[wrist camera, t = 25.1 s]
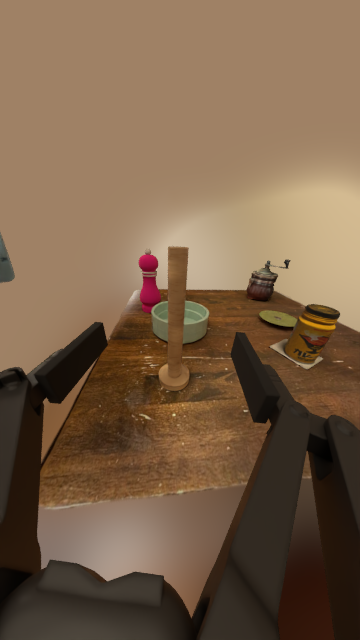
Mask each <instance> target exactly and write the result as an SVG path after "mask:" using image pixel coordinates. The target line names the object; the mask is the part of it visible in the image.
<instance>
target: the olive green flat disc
mask: <svg viewBox="0 0 360 640" xmlns="http://www.w3.org/2000/svg"><path fill="white" fill-rule="evenodd" d="M259 315H260V317H261V318H263V319H264V320H266V321H268V322H271V323H273V324H276V325H280V326H287V327H294V326H295V324H296V322H297V319H296V318H294V317H292V316H290V315H287V314H285V313H281V312H277V311H262V312H260V314H259Z"/></svg>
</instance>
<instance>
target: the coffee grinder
mask: <svg viewBox="0 0 360 640" xmlns="http://www.w3.org/2000/svg"><path fill="white" fill-rule="evenodd" d="M289 262H290V260H285V262H284V263H285V264H286V267H280V268H288V265H289ZM270 266H272V265H270V261H267V264H265V268H262V269H260V270H258V271H253V273H252V277H251V278H250V279H249V285H248V288H247V293H248V297H247V298H250V299H256V300H258V301H260V300H262V301H264V300H265V301H267V300H268V299H269V298H270V296H271V295H272V293H273V290H274V288H273V286H274V284H273V283H274V282H275V281H276V279H277V277H278V275H277V274H275V273H272V272H271V271H270V269H269V267H270ZM274 267H278V266H274Z"/></svg>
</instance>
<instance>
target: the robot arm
mask: <svg viewBox="0 0 360 640" xmlns="http://www.w3.org/2000/svg"><path fill="white" fill-rule="evenodd" d="M14 277H15V275H14V271H13V268H12V264H11V261H10V258H9V255H8V252H7V250H6V247H5V244H4V242H3V239H2V236H1V233H0V283H1V282H9V281H12V280H13V279H14ZM107 345H108V344H107V339H106V335H105V331H104V326H103V323H101V322H95V323H94V324H92V325H91V326H90V327H89V328H88V329H87V330H85V331H84V332H83V333H82V334H81V335H79V336H78V337H77V338H76V339H75V340H73V341H72V342H71V343H70V344H69V345H67V346H66V347H65V348H64V349H60V350H58V351H56V352H54V353H53V354H52V355H51V356H49V358H47V359H46V360H44V362H42V363H41V364H40V365H38V366H37V367H36V368H35V369H34V370H32V371H31V372H30V373H29V374H28V375H25V373H24V371H23V370H22V368H20V367H14V368H9V369H7V370H4V371H2V372H0V640H279V639H280V637H279V629H278V609H279V603H280V597H281V592H282V586H283V580H284V575H285V569H286V563H287V558H288V552H289V546H290V541H291V535H292V529H293V524H294V518H295V512H296V507H297V501H298V495H299V489H300V484H301V478H302V473H303V467H304V461H305V456H306V451H308V454H309V461H310V468H311V475H312V482H313V489H314V496H315V503H316V510H317V517H318V524H319V531H320V538H321V545H322V552H323V559H324V566H325V573H326V580H327V588H328V595H329V602H330V609H331V616H332V622H333V629H334V637H335V640H360V431H359V430H358V429H357V428H356V427H355V426H354V425H353V424H352V423H351V422H349V421H348V420H346V419H344V418H342V417H340V416H337V415H331V416H330V417H328V419H325V418H322V417H320V416H317V415H314V414H312V413H310V412H309V411H308V410H307V409H306V408H305V407H304V406H303V405H302V404H300V403H298V402H296V401H295V400H294V399H293V397H292V396H291V394H290V393H289V391H288V390H287V388H286V386H285V385H284V383H283V382H282V380H281V379H280V377H279V376H278V374H277V372H276V371H275V370H274V369H273V368H272V367H271V366H270V365H264V364H262V363H261V361H260V359H259V357H258V356H257V354H256V352H255V350H254V349H253V347H252V345H251V343H250V342H249V340H248V338H247V336H246V335H245V333H241V332H236V335H235V339H234V343H233V347H232V351H231V357H232V360H233V363H234V366H235V369H236V372H237V375H238V378H239V381H240V384H241V387H242V389H243V392H244V395H245V398H246V401H247V404H248V407H249V410H250V413H251V416H252V419H253V422H256V423H266V422H267V420H268V418H269V420H270V423H271V426H270V428H269V430H268V431H267V433H266V434H267V436H266V438H265V441H264V443H263V446H262V448H261V451H260V453H259V456H258V458H257V461H256V463H255V466H254V468H253V471H252V473H251V476H250V478H249V481H248V483H247V486H246V488H245V491H244V493H243V496H242V498H241V501H240V503H239V506H238V508H237V511H236V513H235V516H234V518H233V521H232V523H231V525H230V528H229V530H228V533H227V536H226V538H225V540H224V543H223V546H222V548H221V550H220V553H219V555H218V558H217V560H216V562H215V565H214V567H213V569H212V571H211V573H210V575H209V577H208V579H207V582H206V584H205V587H204V589H203V591H202V594H201V596H200V599H199V602H198V604H197V606H196V609H195V611H194V614H193V616H192V618H191V617H190V614H189V612H188V610H187V608H186V606H185V604H184V602H183V600H182V599H181V597H180V596H179V594H178V593H177V592H176V590H175V589H174V588H173V587H172V586H171V585H170V584H169V583H167V582H166V581H165V580H164V576H161V575H154V574H148V573H140V572H133V573H130V574H127V575H124V576H122V577H119V578H116V579H113V580H111V581H108V582H107V581H106V580H105V579H103V578H102V577H101V576H100V575H99V574H97V573H96V572H95V571H93V570H91V569H88V568H86V567H84V566H81V565H79V564H77V563H70V562H62V561H56V560H50V561H49V563H48V565H47V567H46V568H44V569H42V570H41V552H40V546H39V543H38V539H37V522H38V505H39V486H40V468H41V450H42V431H43V413H44V404H43V401H44V399H45V398H46V397H47V399H48V401H49V402H50V403H58V404H60V403H61V402H62V401H63V400H64V399H65V397H66V396H67V395H68V393H69V392H70V391H71V390H72V389H73V388H74V386H75V385H76V384H77V383H78V381H79V380H80V379H81V378H82V376H83V375H84V374H85V372H86V371H87V370H88V369H89V368H90V366H91V365H92V364H93V363H94V361H95V360H96V359H97V358H98V357H99V355H100V354H101V353H102V352H103V350H104V349H105V348H106V347H107Z"/></svg>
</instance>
